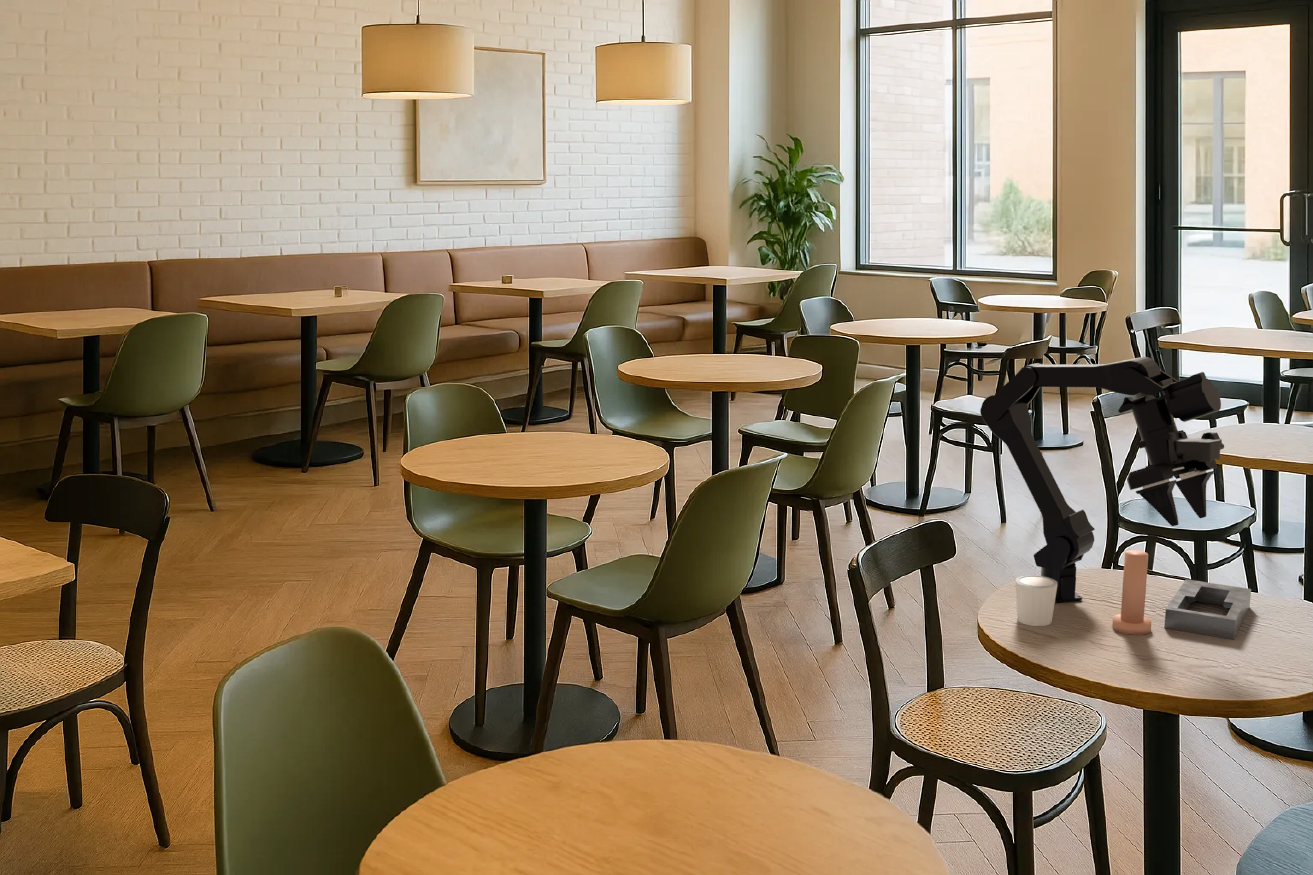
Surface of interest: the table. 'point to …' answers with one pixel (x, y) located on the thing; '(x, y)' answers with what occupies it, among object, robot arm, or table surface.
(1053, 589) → the white cup
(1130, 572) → the peg
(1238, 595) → the keyhole plate
